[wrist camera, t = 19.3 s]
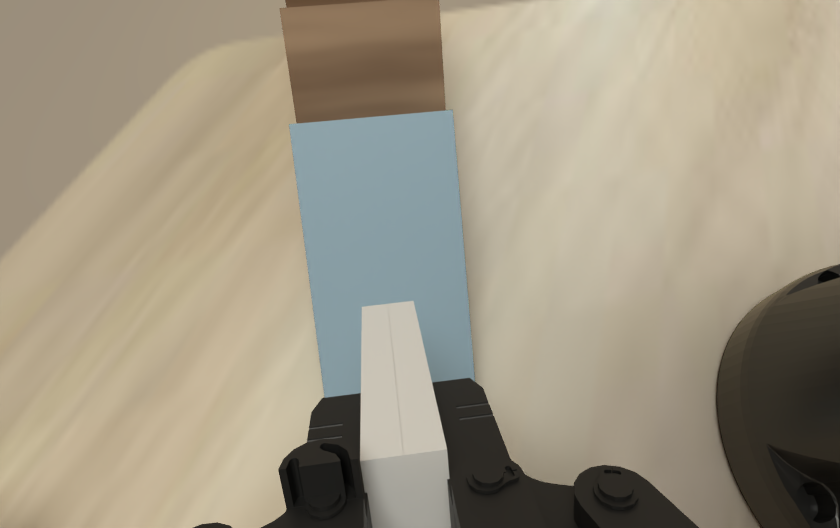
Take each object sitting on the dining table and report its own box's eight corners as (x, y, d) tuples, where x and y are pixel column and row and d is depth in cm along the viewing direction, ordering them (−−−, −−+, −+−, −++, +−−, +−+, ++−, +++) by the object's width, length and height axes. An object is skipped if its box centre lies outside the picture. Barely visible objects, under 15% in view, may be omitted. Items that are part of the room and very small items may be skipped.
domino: (455, 288, 24) (438, -4, 20) (323, 302, 24) (279, 8, 20) (449, 273, 26) (432, 4, 22) (326, 286, 26) (287, 14, 22)
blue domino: (477, 414, 21) (452, 110, 19) (329, 432, 21) (289, 124, 19) (469, 394, 23) (446, 116, 21) (333, 411, 23) (297, 129, 21)
